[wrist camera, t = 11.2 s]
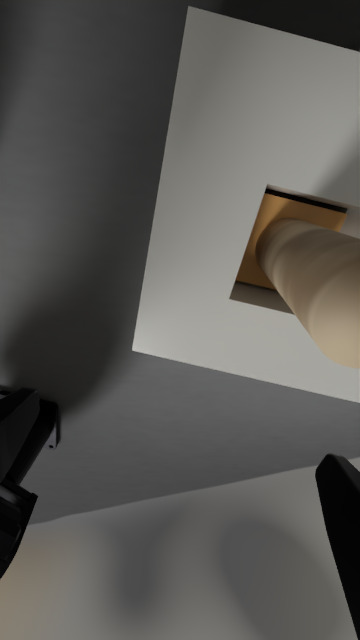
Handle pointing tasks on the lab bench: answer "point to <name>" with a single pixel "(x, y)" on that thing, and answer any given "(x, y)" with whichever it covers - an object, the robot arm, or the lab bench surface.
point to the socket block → (246, 196)
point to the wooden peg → (317, 282)
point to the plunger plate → (276, 210)
